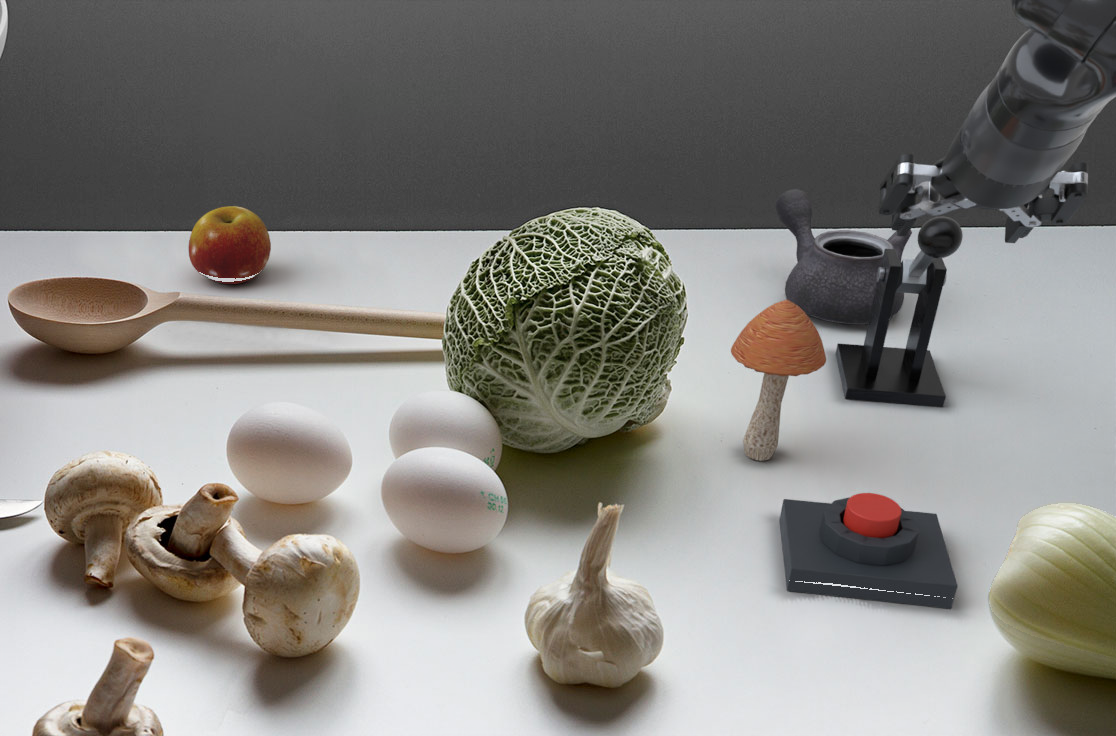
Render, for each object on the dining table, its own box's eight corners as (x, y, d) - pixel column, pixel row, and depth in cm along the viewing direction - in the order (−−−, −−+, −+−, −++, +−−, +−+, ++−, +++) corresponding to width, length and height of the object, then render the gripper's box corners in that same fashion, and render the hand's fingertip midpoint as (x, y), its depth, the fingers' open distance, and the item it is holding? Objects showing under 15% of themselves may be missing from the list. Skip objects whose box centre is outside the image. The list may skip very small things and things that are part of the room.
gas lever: (966, 250, 111) (969, 211, 111) (922, 248, 111) (924, 208, 112) (926, 300, 124) (928, 264, 124) (886, 298, 124) (889, 262, 125)
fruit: (203, 298, 147) (197, 231, 143) (181, 270, 154) (175, 205, 150) (283, 284, 150) (279, 218, 146) (257, 257, 157) (254, 193, 153)
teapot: (942, 309, 143) (964, 222, 137) (845, 342, 136) (864, 252, 130) (811, 254, 156) (826, 173, 151) (717, 282, 150) (729, 198, 144)
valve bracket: (943, 407, 124) (975, 283, 117) (845, 399, 126) (871, 276, 119) (927, 360, 132) (956, 242, 125) (835, 353, 134) (859, 236, 127)
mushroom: (782, 427, 121) (810, 278, 113) (822, 471, 114) (854, 316, 106) (701, 435, 120) (724, 285, 112) (737, 480, 113) (763, 324, 105)
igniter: (893, 513, 102) (898, 495, 101) (900, 542, 99) (905, 523, 98) (840, 508, 103) (844, 490, 102) (845, 536, 100) (850, 517, 99)
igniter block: (930, 535, 106) (942, 494, 104) (951, 609, 98) (963, 566, 96) (779, 520, 108) (787, 479, 106) (786, 591, 100) (795, 548, 98)
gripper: (1127, 92, 92) (1047, 193, 108) (916, 83, 95) (868, 183, 111) (1124, 189, 91) (1044, 277, 106) (911, 177, 93) (863, 265, 109)
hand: (954, 229), depth 108 cm, fingers open, 8 cm apart
